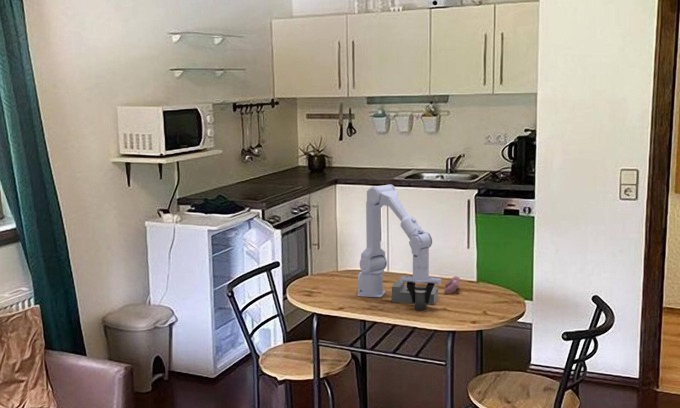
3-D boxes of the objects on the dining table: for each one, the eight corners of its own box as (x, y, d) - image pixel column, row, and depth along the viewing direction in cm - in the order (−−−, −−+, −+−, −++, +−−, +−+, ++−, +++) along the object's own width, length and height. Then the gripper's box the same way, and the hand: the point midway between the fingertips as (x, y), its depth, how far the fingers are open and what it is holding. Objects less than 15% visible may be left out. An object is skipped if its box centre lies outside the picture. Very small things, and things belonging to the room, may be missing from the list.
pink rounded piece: (453, 298, 271) (462, 283, 270) (443, 293, 272) (451, 277, 270) (454, 291, 281) (462, 276, 279) (444, 286, 281) (452, 271, 280)
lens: (413, 310, 252) (413, 289, 251) (415, 306, 257) (415, 285, 255) (426, 311, 251) (426, 289, 250) (428, 307, 255) (428, 286, 254)
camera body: (391, 302, 263) (391, 286, 262) (397, 294, 272) (397, 279, 271) (434, 304, 258) (434, 289, 257) (437, 297, 268) (438, 282, 267)
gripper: (398, 267, 249) (398, 304, 252) (439, 270, 245) (438, 307, 248) (402, 263, 256) (402, 298, 258) (442, 265, 252) (441, 301, 254)
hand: (420, 302), depth 253 cm, fingers closed on lens, 4 cm apart
